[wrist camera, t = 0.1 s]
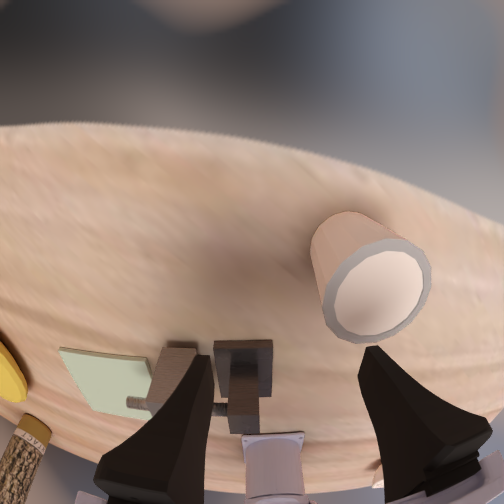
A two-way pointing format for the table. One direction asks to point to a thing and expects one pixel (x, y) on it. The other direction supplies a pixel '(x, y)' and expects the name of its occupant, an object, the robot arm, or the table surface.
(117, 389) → the coaster
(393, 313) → the white cup
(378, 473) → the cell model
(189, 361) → the grey hollow frame block
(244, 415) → the post
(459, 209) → the table surface
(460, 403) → the table surface
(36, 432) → the paper tube
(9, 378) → the vase
